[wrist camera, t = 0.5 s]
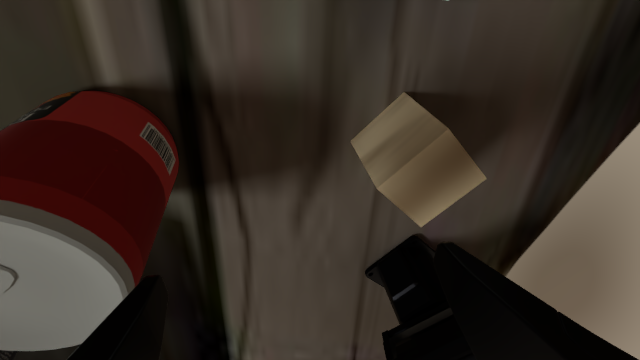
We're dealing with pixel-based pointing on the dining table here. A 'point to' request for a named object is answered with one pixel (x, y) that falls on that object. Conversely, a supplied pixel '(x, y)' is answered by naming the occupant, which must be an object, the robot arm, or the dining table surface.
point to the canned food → (77, 214)
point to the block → (416, 160)
